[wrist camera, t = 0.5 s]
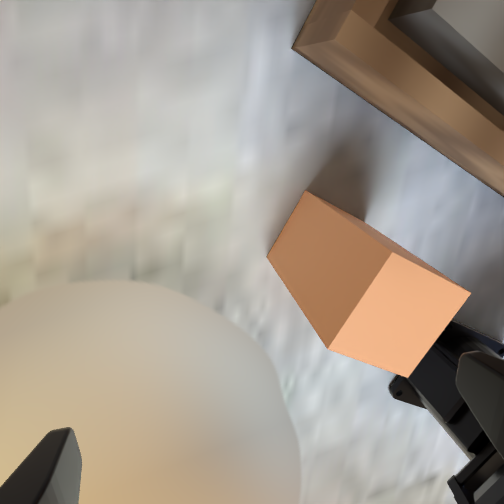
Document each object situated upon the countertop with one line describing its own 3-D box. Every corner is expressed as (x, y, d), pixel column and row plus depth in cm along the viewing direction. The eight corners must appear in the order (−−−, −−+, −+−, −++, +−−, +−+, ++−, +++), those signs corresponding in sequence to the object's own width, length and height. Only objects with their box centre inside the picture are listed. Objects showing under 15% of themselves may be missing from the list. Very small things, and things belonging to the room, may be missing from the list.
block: (364, 221, 22) (471, 293, 14) (325, 282, 22) (407, 377, 15) (305, 190, 20) (392, 252, 13) (266, 257, 21) (327, 349, 14)
